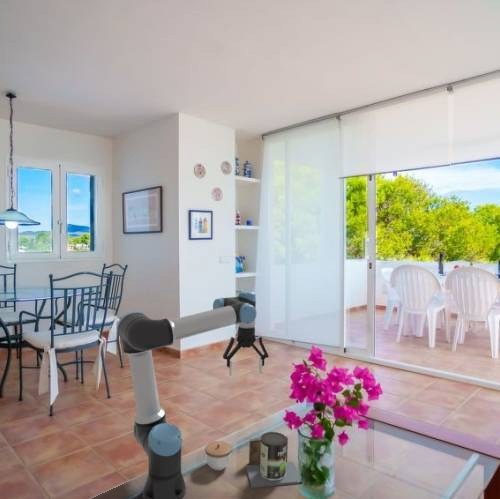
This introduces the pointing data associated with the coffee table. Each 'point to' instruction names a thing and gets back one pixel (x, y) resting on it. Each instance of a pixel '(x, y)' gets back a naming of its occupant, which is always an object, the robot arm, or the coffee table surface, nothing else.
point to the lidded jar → (218, 454)
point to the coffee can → (273, 456)
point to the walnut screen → (258, 450)
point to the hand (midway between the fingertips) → (245, 373)
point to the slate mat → (259, 481)
